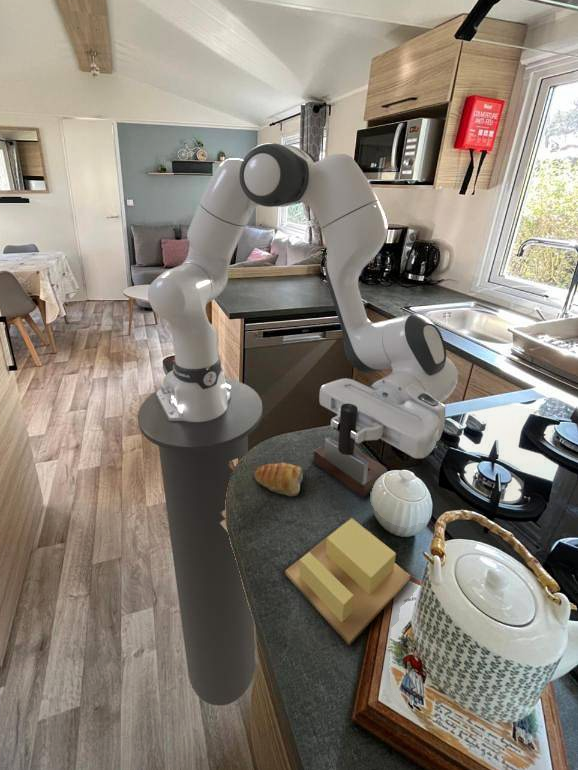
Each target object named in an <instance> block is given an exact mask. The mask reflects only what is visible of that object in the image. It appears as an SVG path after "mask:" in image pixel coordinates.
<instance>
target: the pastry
mask: <svg viewBox="0 0 578 770" xmlns="http://www.w3.org/2000/svg"><path fill="white" fill-rule="evenodd" d="M253 476H254V478H255V480H256V482H257V483H258V484H259V485H260V486H263V488H266V489H268V490H269V491H271V492H274V493H276V494H280V495H285V496H287V497H296V496H298V495H299V493H300V490H301V483H302V481H303V479H304V474H303V469H302V467H301V466H300V465H294V464H291V463H287V462H283V461H282V462H276V463H266V464H263V465H262V464H261V465H259V466H258V467H257V469H256V470H255V471H254V473H253Z"/></svg>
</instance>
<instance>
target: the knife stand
mask: <svg viewBox="0 0 578 770" xmlns="http://www.w3.org/2000/svg"><path fill="white" fill-rule="evenodd" d="M332 439H333V440H335V441H336V442H339V436H336V437H334V438H332ZM324 453H325V444H323V445H322V446H320V447H318V448H316V449H315V450H314V451H313V463H314V464H315V465H317V466H318V467H319V468H321V469H322V470H324V471H325V472H327V474H329V475H331V476H332V477H333V478H335V479H336V480H338V482H340V483H342V485H344V486H346V487H347V488H348V489H350V490H351V491H353V492H355V494H356V495H358V496H359V497H361V498H362V499H364V498H365V497H366V496H367V495H369V494H370V493H371V492H372V491H373V490H372V488H373V485H374V483H375V481H376V480H377V479H378V478H379V477H380V476H381V475H382V474H384V473H386V472H387V473H388V468H387V467H386V466H385V465H383V464H382V463H379V462H378V461H376V460H375V459H373V458H372V457H370V456H369V455H367V454H365V453H364V452H362V451H360V450H359V449H357V448H355V447H354V453H355V454H357V455H358V456H360V457H361V458H363V459H364V460H366V461H368V462H369V464H368V474H367V482H366V483H365V484H364V485H362V484H360V483H359V482H358V481H356V480H355V479H353V478H352V477H350V476H349V475H348V474H346V473H345V472H343V471H342V470H340V469H339V468H338V467H336V466H335V465H333V464H332V463H330V462H329V461H328V460H326V459H325V458H324ZM387 473H386V474H387Z"/></svg>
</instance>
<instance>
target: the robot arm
mask: <svg viewBox="0 0 578 770" xmlns="http://www.w3.org/2000/svg"><path fill="white" fill-rule="evenodd" d="M301 203H303V204H305V205H306V206H307V207H308V208H310V210H311V211H312V214H313V215H314V217H315V219H316V222H317V224H318V226H319V229H321V233H322V235H323V238H324V242H325V247H326V259H325V262H324V273H325V278H326V282H327V287H328V291H329V293H330V297H331V300H332V304H333V306H334V309H335V313H336V316H337V319H338V322H339V325H340V329H341V333H342V338H343V345H344V346H343V347H344V351H345V355H346V358H347V360H348V361H349V362H350V364H351V365H352V366H353V367H354V368H355V369H356V370H357V371H359V372H361V373H365V374H372V373H377V372H382V371H385V370H392V371H391V373H389V374H388V375H386V376H384V377H382V378H380V379H378V380H376V381H374V383H372V384H371V385H370V386H367V385H365V384H364V383H361V382H359V381H358V380H355V379H352V378H347V377H345V378H339V379H335V380H333V381H330V382H328V383H325V384H323V385H321V386H320V388H319V394H318V395H319V398H318V399H319V400H318V401H319V405H320V406H321V407H324V408H325V409H326V410H329V411H331V412H332V413H334V414H336V415H335V416H334V417H332V418H331V419H330V428H332V429H334V430H335V431H337V432H339V427H340V412H341V406H342V405H343V404H347V403H348V404H353V405H355V406H356V407H357V408H358V411H357V422H356V428H355V429H352V430H351V433H350V434H351V436H350V439H352V440H353V441H355V444H358V445H359V444H361V443H362V442H364V441H378V440H379V439H380V440H381V441H383V442H385V443H387V444H388V445H391V446H392V447H394V448H395V449H397V450H399V451H401V452H403V453H405V454H406V455H407V456H410V457H411V458H414V459H424V458H427V457H428V456H429V455H430V454H431V453H432V451H434V449H436V446H437V442H438V441H440V439H441V437H442V434H443V431H444V427H445V423H446V412H447V411H446V405H445V404H443V402H445V400H447V399H448V398H449V397H450V396H451V395H452V394H453V392H454V390H455V389H456V387H457V384H458V381H459V373H458V369H457V367H456V365H455V364H454V362H453V361H452V360H451V359H450V358H449V357H447V349H446V348H447V347H446V343H445V340H444V338H443V336H442V333H441V331H440V330H439V328H438V327H437V326H436V325H435V324H434V323H433V321H431V320H430V319H429V318H427V317H426V316H424V315H421V314H419V313H412V314H408V315H401V316H397V317H393V318H390V319H385V320H380V321H375V322H373V321H371V320H370V319H369V318H368V315H367V312H366V309H365V305H364V301H363V299H362V295H361V292H360V288H359V277H360V275H361V273H362V271H363V270H364V268H365V267H366V266H368V265H369V263H370V262H371V261H372V260H373V259H374V258H375V257H376V256H377V255H378V253H379V252H380V251H381V249H382V247H383V246H384V245H385V242H386V239H387V235H388V230H389V227H388V222H387V218H386V215H385V212H384V210H383V207H382V205H381V203H380V201H379V199H378V197H377V194H376V192H375V190H374V189H373V186H372V185H371V183H370V182H369V179H368V178H367V176H366V174H365V173H364V171H363V170H362V168H361V166H359V165H358V162H356V160H355V159H354V158H353V157H352V156H351V155H349V154H346V153H335V154H331V155H328V156H325V157H324V158H322V159H319V160H317V161H316V159H315V158H314V156H313V155H311V154H310V152H307V151H306V150H303V149H301V148H299V147H297V146H294V145H291V144H280V143H275V142H269V143H268V142H267V143H262V144H260V145H257V146H256V147H254V148H252V149H251V150H249V152H247V154H246V155H245V156H244V158H243V159H242V158H233V157H232V158H227V159H224V160H223V161H222V162H221V163H220V164H219V165H218V167H217V168H216V169H215V171H214V173H213V175H211V178H210V179H209V181H208V182H207V185H206V187H205V189H204V191H203V193H202V196H201V197H200V200H199V202H198V205H197V206H196V207H197V208H196V210H195V212H194V215H193V218H192V220H191V222H190V225H189V228H188V230H187V233H186V237H187V240H188V241H187V242H188V243H189V247H188V253H187V257H186V258H185V260H184V261H183V262H182V263H181V264H180V265H177V266H175V267H172V268H170V269H167V270H165V271H164V272H162V273H161V274H159V275H158V276H157V277H156V278H155V279H154V280H153V281H152V282H151V283H150V285H149V287H148V291H147V300H148V303H149V305H150V307H151V309H152V310H153V312H154V313H155V314H156V315H157V316H159V317H160V318H162V319H164V320H165V322H166V324H167V326H168V328H169V330H170V334H171V337H172V345H173V354H174V357H172V358H171V359H172V363H173V365H172V370H170V371H168V372H166V373H165V375H164V377H163V383H162V384H163V385H161V387H160V388H159V389H157V390H158V391H157V390H156V391H157V392H156V391H155V392H156V396H157V398H158V400H159V402H160V404H161V406H162V408H163V410H164V412H165V413H166V415H167V417H168V419H169V420H170V421H188V422H205V421H209V420H213V419H215V418H217V417H219V416H221V415H222V414H223V413H224V412H225V411H226V409H227V407H228V400H229V399H230V397H231V395H230V392H228V391H227V389H226V387H228V388H231V386H230V385H228V384H226V382H225V378H226V375H225V372H224V371H223V370H222V360H221V357H220V355H219V341H218V340H219V339H218V330H217V328H216V327H215V326H214V324H212V323H211V322H210V320H209V318H208V314H207V304H209V303H210V302H212V301H214V300H215V299H216V298H218V297H219V296H220V295H221V294H222V293H223V291H224V290H225V288H226V287H227V285H228V282H229V281H228V280H229V276H228V273H229V269H230V264H231V260H232V258H233V255H234V253H235V250H236V248H237V246H238V244H239V243H240V240H241V238H242V236H243V233H244V231H245V230H246V228H247V225H248V223H249V222H250V219H251V217H252V214H253V213H254V211H255V209H256V208H257V207H258V205H259V206H262V207H266V208H273V207H275V208H284V207H290V206H292V205H297V204H301Z"/></svg>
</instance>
